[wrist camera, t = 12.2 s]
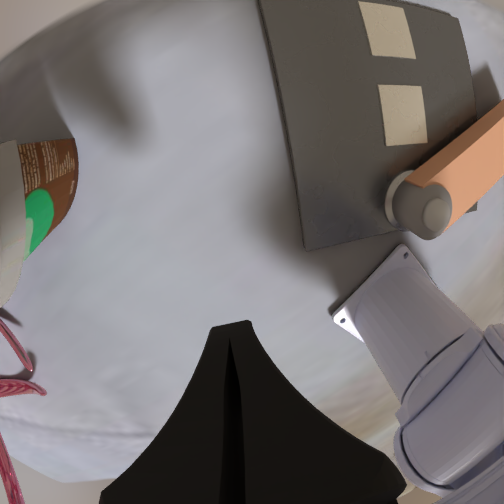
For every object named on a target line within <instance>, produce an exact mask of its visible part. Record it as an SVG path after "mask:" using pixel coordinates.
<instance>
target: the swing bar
mask: <svg viewBox="0 0 504 504" xmlns="http://www.w3.org/2000/svg"><path fill="white" fill-rule="evenodd" d="M503 175H504V99H503V100H502V101H501V102H500V103H499V104H497V105H496V106H495V107H494V108H493V109H491V110H490V111H489V112H488V113H487V114H485V115H484V116H483V117H482V118H481V119H479V120H478V121H477V122H476V123H474V124H473V125H472V126H471V127H469V128H468V129H467V130H466V131H465V132H463V133H462V134H461V135H460V136H458V137H457V138H456V139H455V140H453V141H452V142H451V143H450V144H448V145H447V146H446V147H444V148H443V149H442V150H441V151H439V152H438V153H437V154H436V155H434V156H433V157H432V158H430V159H429V160H428V161H427V162H425V163H424V164H423V165H421V166H420V167H419V168H418V169H416V170H415V171H414V172H412V173H411V174H410V175H408V176H407V177H406V178H404V181H403V182H401V183H400V185H399V186H398V187H397V189H396V191H395V193H394V196H393V200H392V212H393V215H394V218H395V219H396V221H397V222H398V223H399V224H400V225H402V226H403V227H405V228H407V229H408V230H410V231H411V232H413V233H414V234H415V235H417V236H418V237H420V238H422V239H424V240H431V239H434V238H436V237H438V236H440V235H441V234H442V233H443V232H444V231H445V230H446V229H448V228H449V227H450V226H451V225H452V224H453V223H454V222H455V221H456V220H458V219H459V218H460V217H461V216H462V215H463V214H464V213H465V212H466V211H467V210H468V209H469V208H471V207H472V206H473V205H474V204H475V203H476V202H477V201H478V200H479V199H480V198H481V197H482V196H483V195H484V194H485V193H486V192H487V191H488V190H489V189H490V188H491V187H492V186H493V185H494V184H495V183H496V182H497V181H498V180H499V179H500V178H501V177H502V176H503Z"/></svg>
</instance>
